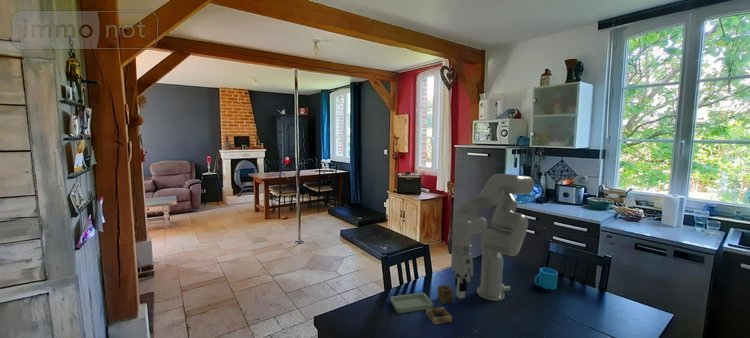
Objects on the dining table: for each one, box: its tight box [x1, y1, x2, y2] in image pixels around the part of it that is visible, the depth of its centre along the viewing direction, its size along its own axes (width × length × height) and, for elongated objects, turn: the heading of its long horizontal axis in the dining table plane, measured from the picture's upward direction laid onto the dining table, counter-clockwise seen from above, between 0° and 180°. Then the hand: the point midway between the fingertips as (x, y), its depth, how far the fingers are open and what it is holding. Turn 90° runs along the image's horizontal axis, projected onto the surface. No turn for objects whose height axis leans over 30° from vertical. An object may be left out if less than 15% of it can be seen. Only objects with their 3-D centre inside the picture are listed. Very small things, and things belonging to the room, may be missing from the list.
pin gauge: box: [455, 276, 466, 299], centre depth 134 cm, size 3×3×8 cm
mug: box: [534, 267, 559, 291], centre depth 161 cm, size 12×8×8 cm
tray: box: [389, 292, 435, 314], centre depth 142 cm, size 17×11×2 cm, turn 105°
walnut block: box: [437, 284, 454, 305], centre depth 146 cm, size 5×5×6 cm
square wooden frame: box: [425, 306, 453, 325], centre depth 132 cm, size 8×8×2 cm
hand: (461, 288), depth 134 cm, fingers closed on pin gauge, 2 cm apart
